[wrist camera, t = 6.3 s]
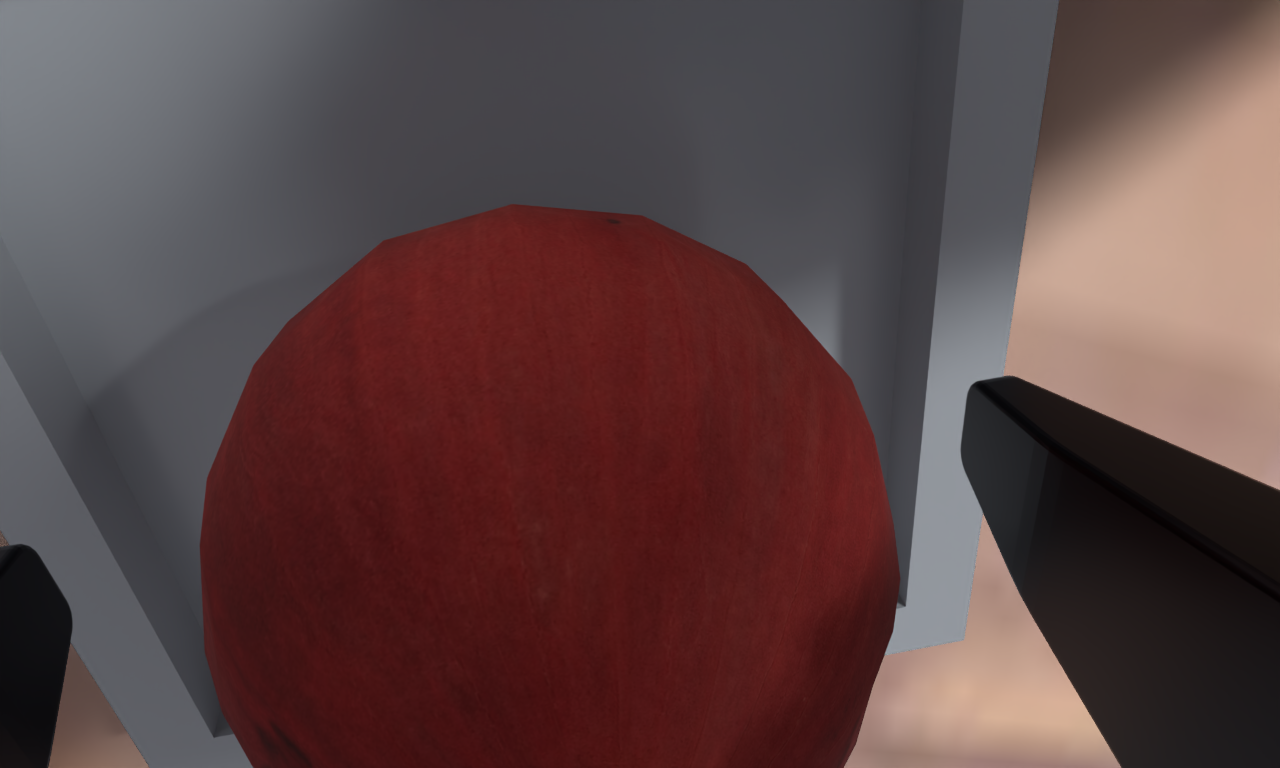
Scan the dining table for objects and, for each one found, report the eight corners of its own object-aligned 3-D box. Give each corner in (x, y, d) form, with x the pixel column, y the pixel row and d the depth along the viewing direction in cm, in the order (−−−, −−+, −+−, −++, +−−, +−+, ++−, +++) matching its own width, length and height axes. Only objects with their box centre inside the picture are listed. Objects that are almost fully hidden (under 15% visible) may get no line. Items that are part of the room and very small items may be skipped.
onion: (611, 570, 14) (788, 1285, 7) (199, 453, 12) (-94, 1340, 5) (832, 229, 12) (1377, 806, 5) (378, 0, 9) (287, 508, 3)
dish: (996, -311, 10) (1108, -324, 8) (912, 551, 16) (964, 640, 15) (-266, -174, 9) (-434, -157, 7) (197, 682, 15) (166, 794, 14)
